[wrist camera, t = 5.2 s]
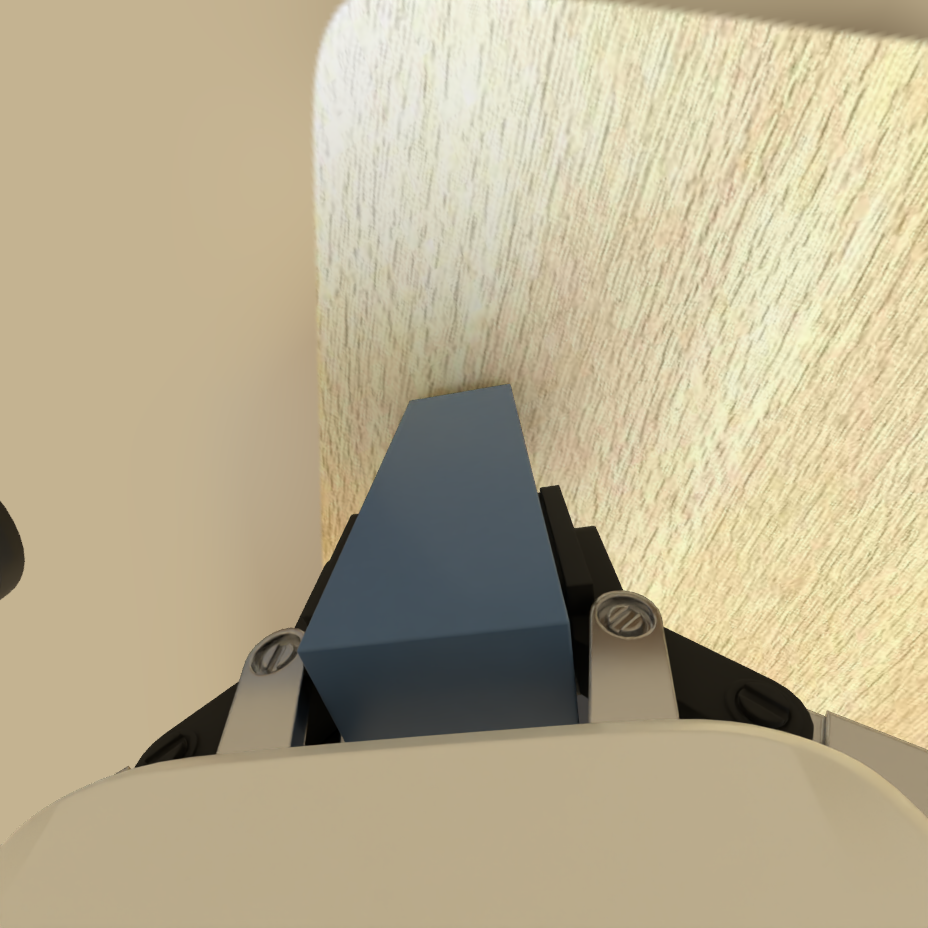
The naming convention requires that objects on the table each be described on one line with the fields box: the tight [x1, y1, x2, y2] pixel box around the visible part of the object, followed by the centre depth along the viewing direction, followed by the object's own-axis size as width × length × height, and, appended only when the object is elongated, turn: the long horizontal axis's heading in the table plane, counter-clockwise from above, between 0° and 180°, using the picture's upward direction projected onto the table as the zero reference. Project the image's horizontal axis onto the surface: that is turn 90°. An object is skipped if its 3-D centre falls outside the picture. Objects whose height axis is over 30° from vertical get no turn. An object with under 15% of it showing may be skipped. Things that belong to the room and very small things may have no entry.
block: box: [297, 384, 579, 743], centre depth 13 cm, size 4×4×13 cm
